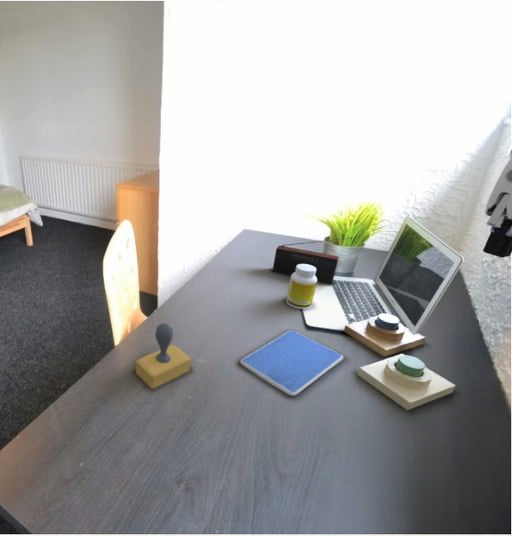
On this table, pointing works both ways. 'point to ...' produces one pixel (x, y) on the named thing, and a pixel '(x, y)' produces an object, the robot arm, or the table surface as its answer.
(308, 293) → the pill bottle
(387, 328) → the blue button
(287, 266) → the radio
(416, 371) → the green button
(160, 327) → the rubber stamp
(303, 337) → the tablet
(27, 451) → the table surface
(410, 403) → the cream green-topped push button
